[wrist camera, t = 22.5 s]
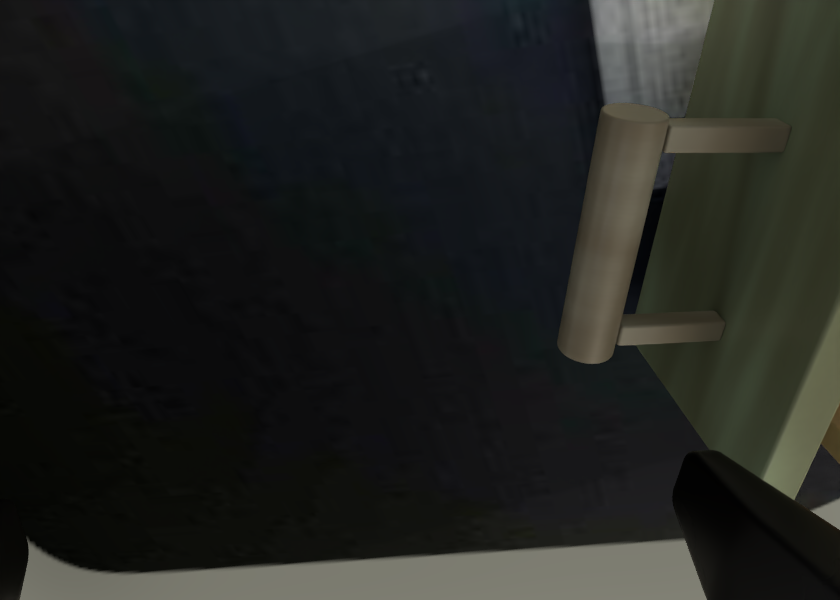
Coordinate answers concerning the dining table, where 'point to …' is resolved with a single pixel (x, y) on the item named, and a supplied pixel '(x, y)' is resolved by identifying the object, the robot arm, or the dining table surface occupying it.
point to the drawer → (729, 240)
